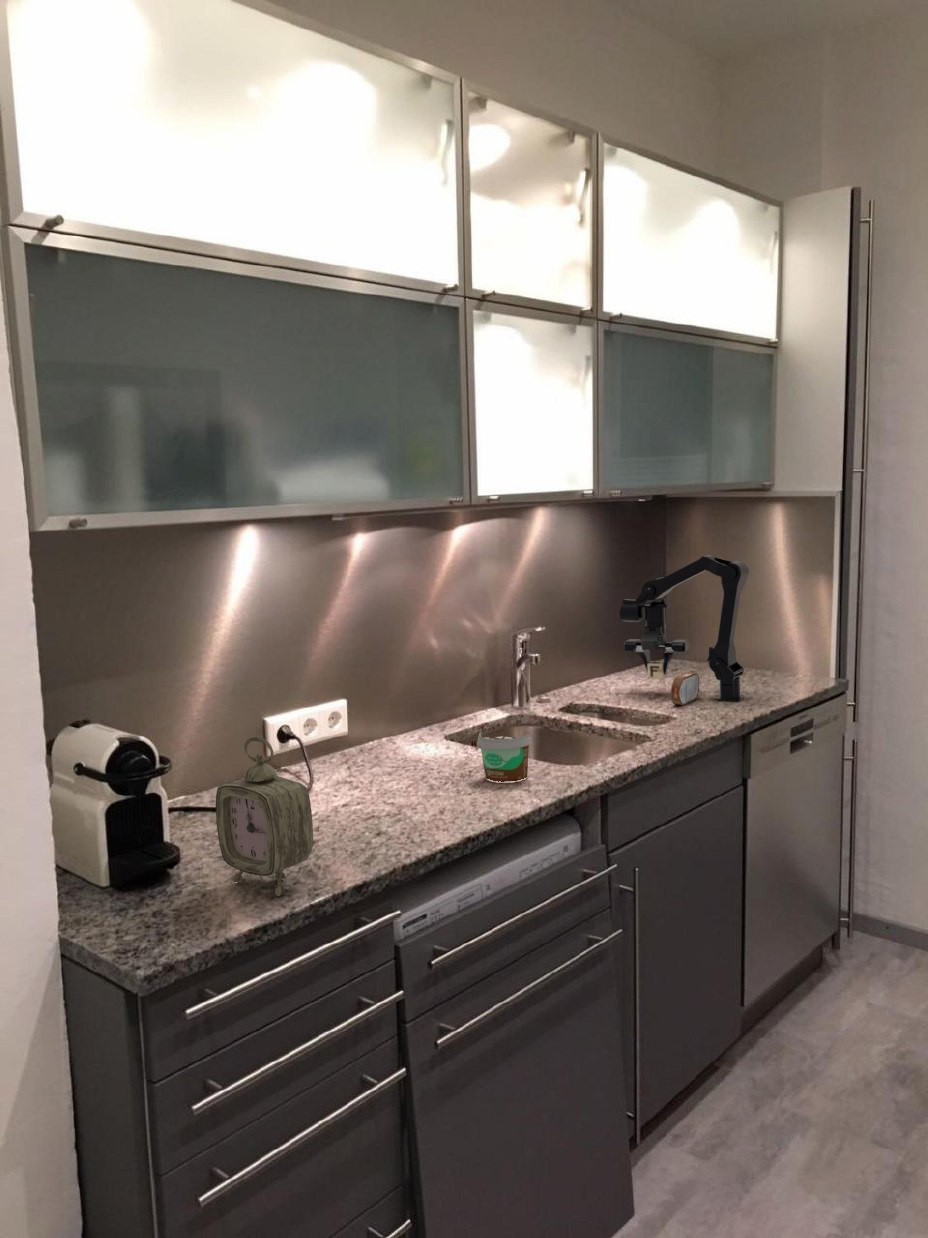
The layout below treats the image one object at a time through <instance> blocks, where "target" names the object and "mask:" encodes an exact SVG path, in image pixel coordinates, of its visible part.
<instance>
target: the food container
mask: <svg viewBox="0 0 928 1238" xmlns="http://www.w3.org/2000/svg"><path fill="white" fill-rule="evenodd" d="M532 743H533V741H532V738H531V736H530V734H529V733H528V734H526V735H523V736H520V737H515V736H509V735H496V736H482V732H480V733H479V734H478V736H477V743H476V745H477V746H478V747H480V750H481V751H480V752H481V757H482V765H483V769H484V771H483V772H484V777H485V779H486V778H487V779H490V780H493V781H498V782H499V781H501V782H504V781H517V780H521V779H524V778H526V777H527V778H528V774H529V771H528V769H529V768H528V767H529V753H530V751H529V750H530V748H529V747H530V745H532Z"/></svg>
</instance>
